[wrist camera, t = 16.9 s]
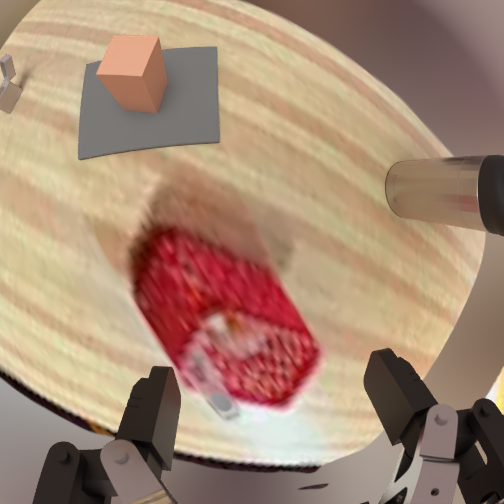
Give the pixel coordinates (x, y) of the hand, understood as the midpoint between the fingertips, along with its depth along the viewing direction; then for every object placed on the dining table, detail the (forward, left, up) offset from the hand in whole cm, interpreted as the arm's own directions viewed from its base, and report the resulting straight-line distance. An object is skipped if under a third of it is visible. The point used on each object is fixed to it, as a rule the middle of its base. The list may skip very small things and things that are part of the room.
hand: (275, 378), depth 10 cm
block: (+8, -21, -24) cm, 33 cm away
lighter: (+30, -28, -25) cm, 48 cm away
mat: (+8, -21, -25) cm, 33 cm away
